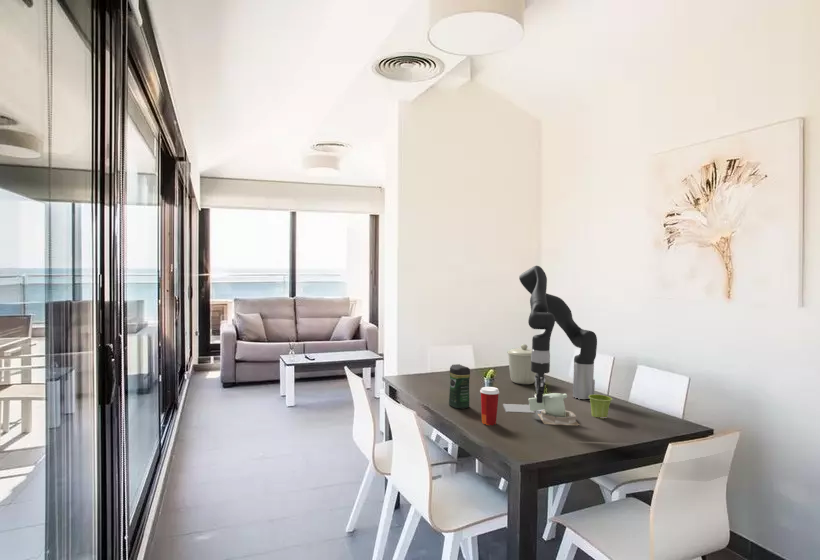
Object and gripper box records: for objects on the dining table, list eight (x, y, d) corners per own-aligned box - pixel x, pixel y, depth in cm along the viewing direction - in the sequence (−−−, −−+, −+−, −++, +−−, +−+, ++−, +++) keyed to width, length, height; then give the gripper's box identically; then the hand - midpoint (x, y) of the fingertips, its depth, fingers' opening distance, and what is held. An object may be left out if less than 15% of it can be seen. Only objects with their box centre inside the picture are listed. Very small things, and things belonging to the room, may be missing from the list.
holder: (570, 416, 212) (571, 409, 212) (579, 426, 198) (580, 419, 198) (537, 415, 213) (537, 407, 213) (544, 425, 199) (544, 417, 199)
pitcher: (567, 412, 209) (564, 391, 209) (571, 418, 201) (568, 396, 201) (530, 417, 211) (527, 396, 211) (533, 423, 203) (529, 401, 203)
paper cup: (501, 422, 202) (502, 388, 201) (494, 427, 195) (495, 392, 195) (483, 419, 206) (484, 385, 205) (475, 424, 199) (476, 389, 199)
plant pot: (613, 417, 213) (614, 396, 213) (608, 422, 205) (609, 401, 205) (591, 413, 218) (591, 393, 218) (585, 418, 210) (585, 397, 210)
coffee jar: (472, 408, 221) (473, 366, 221) (456, 410, 218) (457, 367, 218) (461, 402, 230) (462, 362, 230) (446, 404, 227) (447, 363, 226)
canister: (511, 377, 286) (512, 340, 285) (543, 381, 278) (544, 343, 277) (502, 383, 270) (503, 344, 269) (536, 388, 262) (537, 348, 261)
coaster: (529, 406, 226) (529, 404, 226) (534, 414, 214) (534, 412, 214) (502, 405, 227) (502, 403, 227) (506, 413, 215) (506, 411, 215)
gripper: (529, 357, 213) (528, 397, 214) (533, 363, 200) (531, 406, 201) (547, 357, 213) (546, 398, 213) (552, 364, 199) (551, 407, 200)
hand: (539, 402), depth 207 cm, fingers closed on pitcher, 1 cm apart
